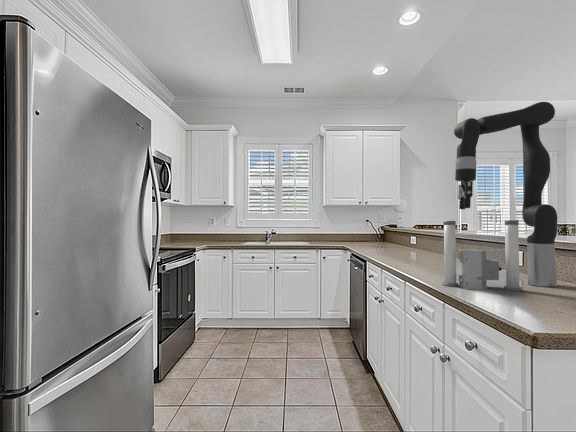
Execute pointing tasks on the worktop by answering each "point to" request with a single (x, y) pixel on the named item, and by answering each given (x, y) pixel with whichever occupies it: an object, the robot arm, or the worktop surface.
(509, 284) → the post
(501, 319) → the worktop surface
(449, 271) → the post
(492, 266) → the circuit breaker
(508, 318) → the worktop surface
